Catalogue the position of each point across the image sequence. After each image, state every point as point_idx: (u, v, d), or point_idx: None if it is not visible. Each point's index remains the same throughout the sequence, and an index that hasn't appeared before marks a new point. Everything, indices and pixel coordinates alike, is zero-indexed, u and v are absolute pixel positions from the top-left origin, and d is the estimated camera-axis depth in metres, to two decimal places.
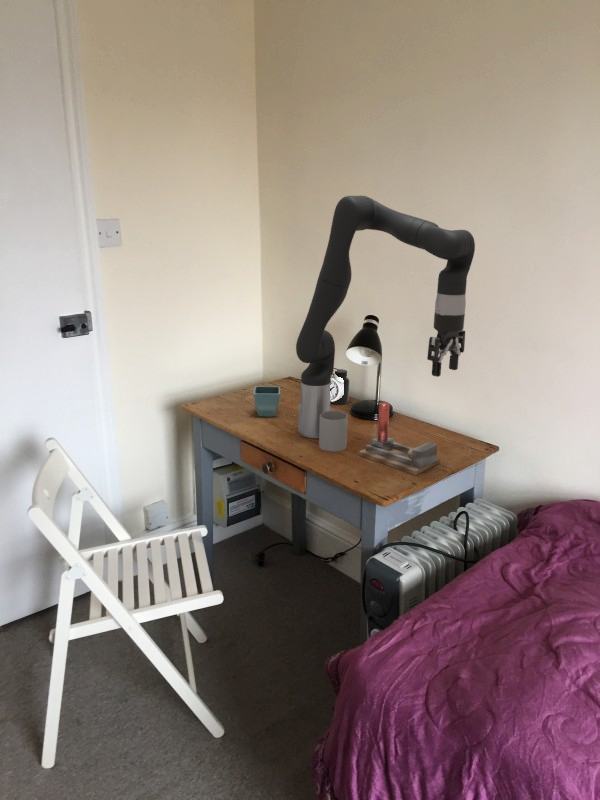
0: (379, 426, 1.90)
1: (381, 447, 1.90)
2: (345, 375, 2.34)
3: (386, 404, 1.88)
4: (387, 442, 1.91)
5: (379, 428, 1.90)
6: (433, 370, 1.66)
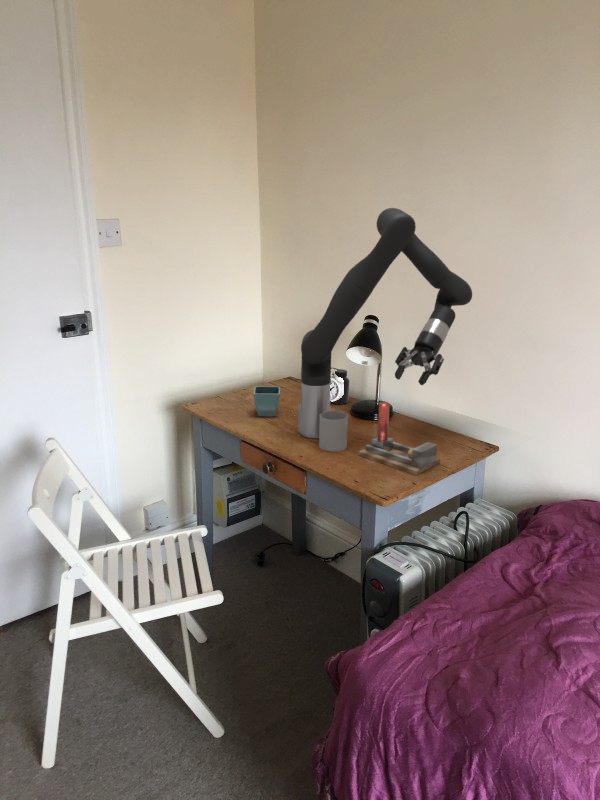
0: (379, 426, 1.90)
1: (381, 447, 1.90)
2: (345, 375, 2.34)
3: (386, 404, 1.88)
4: (387, 442, 1.91)
5: (379, 428, 1.90)
6: (425, 379, 1.91)
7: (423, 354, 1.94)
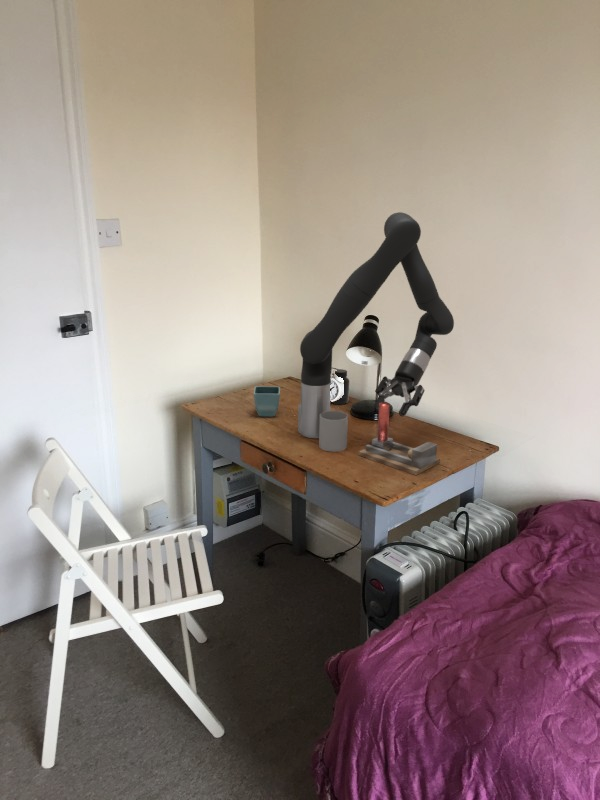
0: (379, 426, 1.90)
1: (381, 447, 1.90)
2: (345, 375, 2.34)
3: (386, 404, 1.88)
4: (387, 442, 1.91)
5: (379, 428, 1.90)
6: (405, 410, 1.88)
7: (403, 385, 1.91)
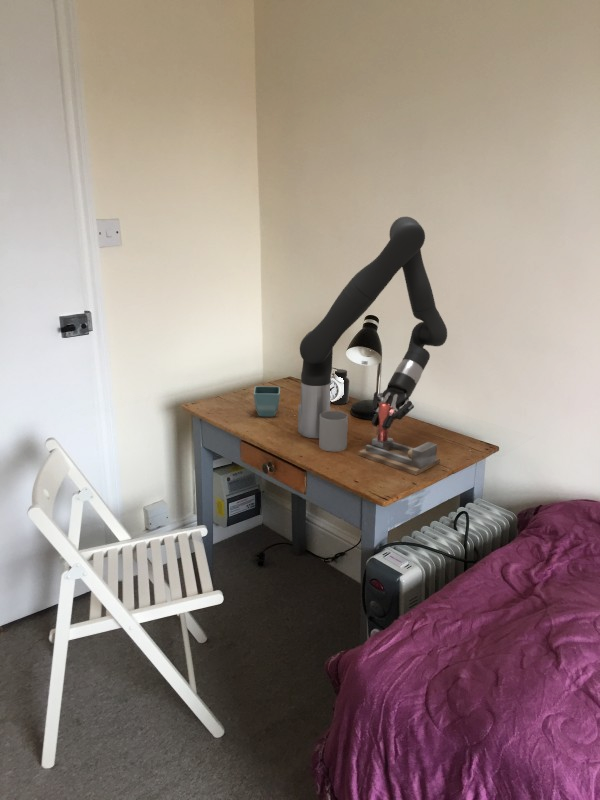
0: (379, 426, 1.90)
1: (381, 447, 1.90)
2: (345, 375, 2.34)
3: (386, 404, 1.88)
4: (387, 442, 1.91)
5: (379, 428, 1.90)
6: (389, 424, 1.87)
7: (395, 397, 1.89)
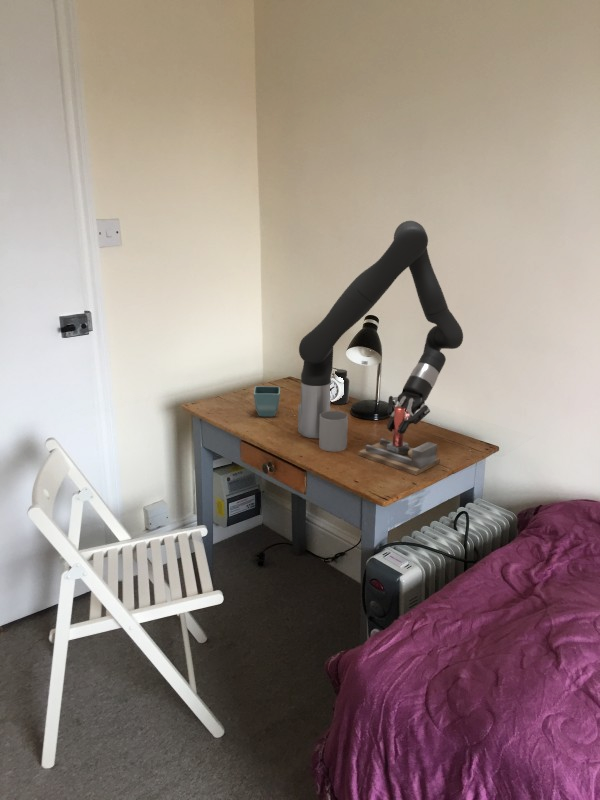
0: (394, 431, 1.86)
1: (396, 452, 1.86)
2: (345, 375, 2.34)
3: (402, 408, 1.84)
4: (402, 447, 1.87)
5: (394, 433, 1.86)
6: (404, 428, 1.84)
7: (411, 401, 1.86)
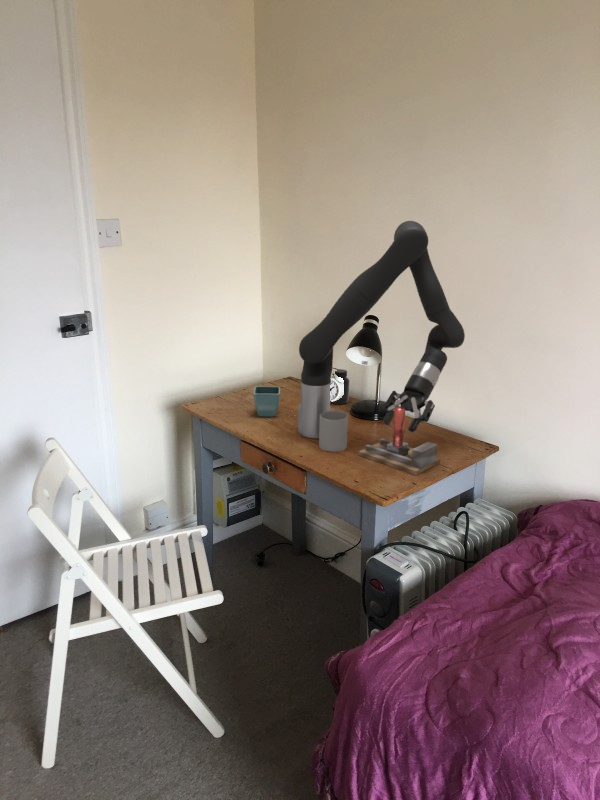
0: (394, 431, 1.86)
1: (396, 452, 1.86)
2: (345, 375, 2.34)
3: (402, 408, 1.84)
4: (402, 447, 1.87)
5: (394, 433, 1.86)
6: (415, 426, 1.83)
7: (413, 400, 1.86)
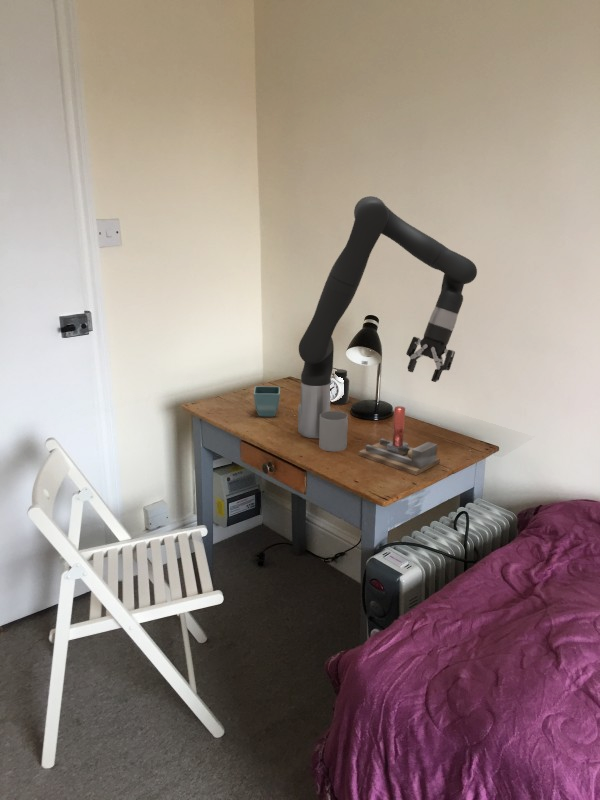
0: (394, 431, 1.86)
1: (396, 452, 1.86)
2: (345, 375, 2.34)
3: (402, 408, 1.84)
4: (402, 447, 1.87)
5: (394, 433, 1.86)
6: (437, 377, 1.91)
7: (433, 350, 1.91)
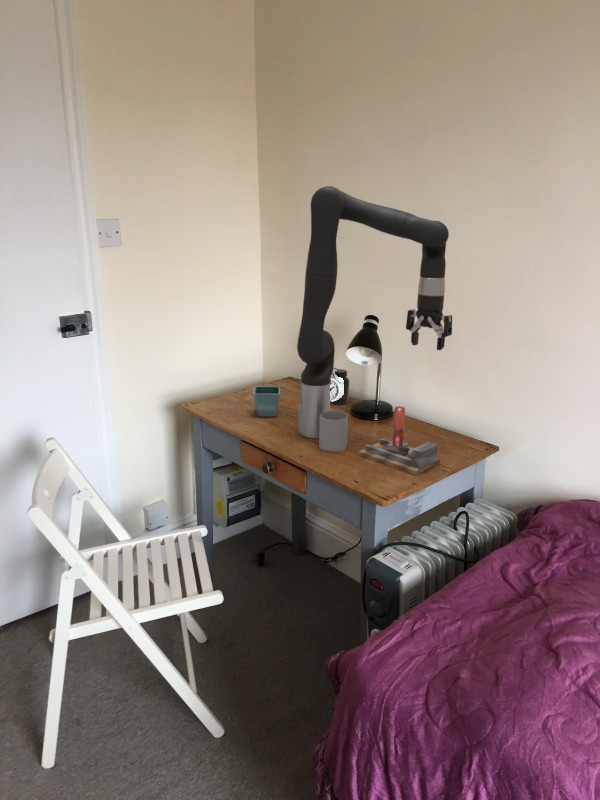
0: (394, 431, 1.86)
1: (396, 452, 1.86)
2: (345, 375, 2.34)
3: (402, 408, 1.84)
4: (402, 447, 1.87)
5: (394, 433, 1.86)
6: (442, 345, 1.89)
7: (430, 320, 1.88)
